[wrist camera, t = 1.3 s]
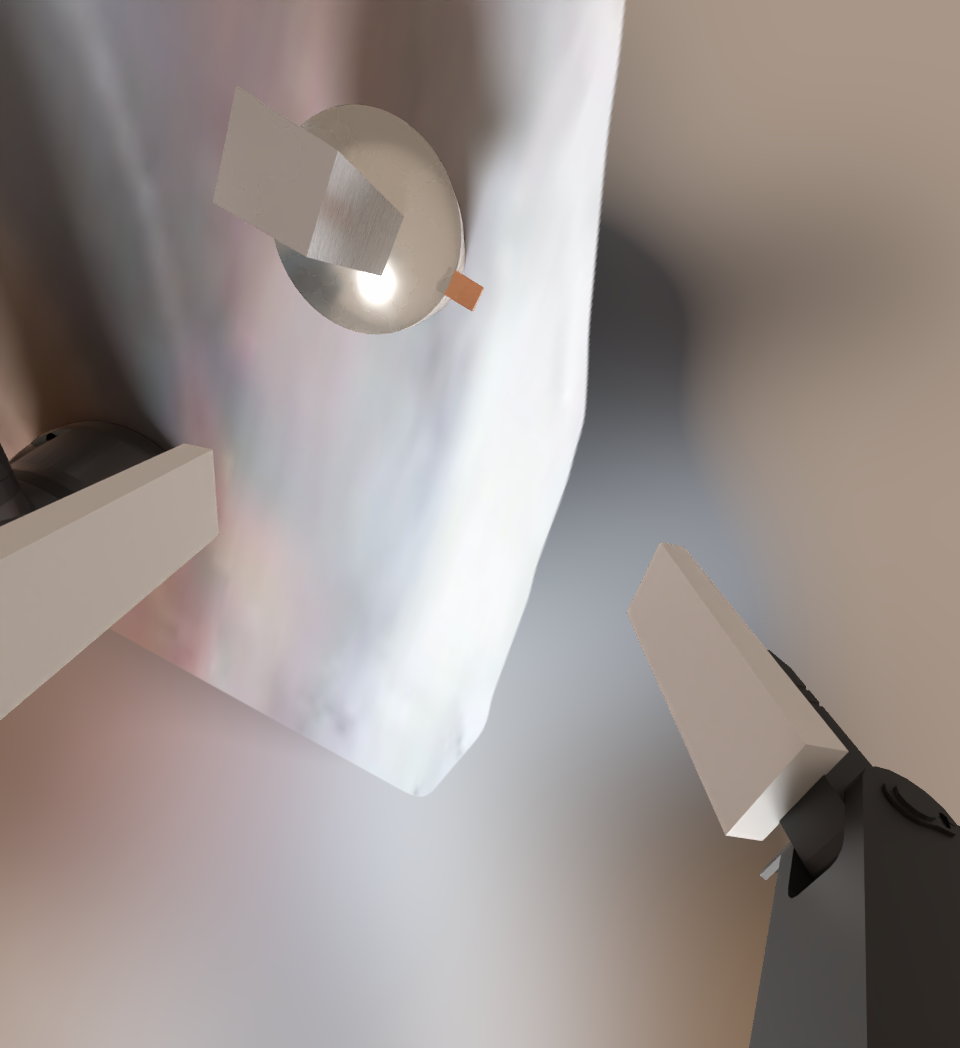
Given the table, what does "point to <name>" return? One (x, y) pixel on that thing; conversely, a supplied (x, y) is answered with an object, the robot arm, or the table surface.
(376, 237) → the lid
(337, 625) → the table surface
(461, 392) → the table surface
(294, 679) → the table surface
